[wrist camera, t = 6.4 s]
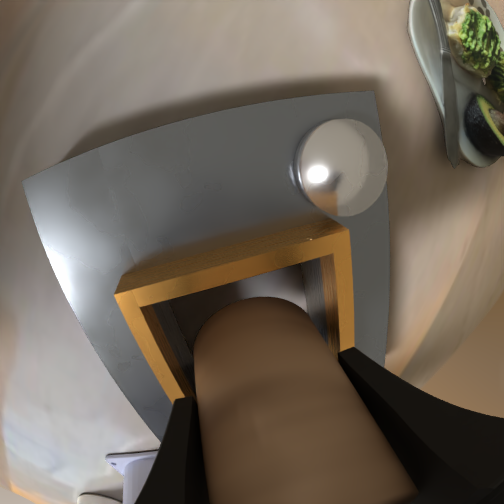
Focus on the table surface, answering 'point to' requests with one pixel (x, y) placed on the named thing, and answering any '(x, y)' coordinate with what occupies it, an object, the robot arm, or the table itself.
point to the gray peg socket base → (220, 230)
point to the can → (96, 499)
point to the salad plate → (463, 74)
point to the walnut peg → (286, 415)
